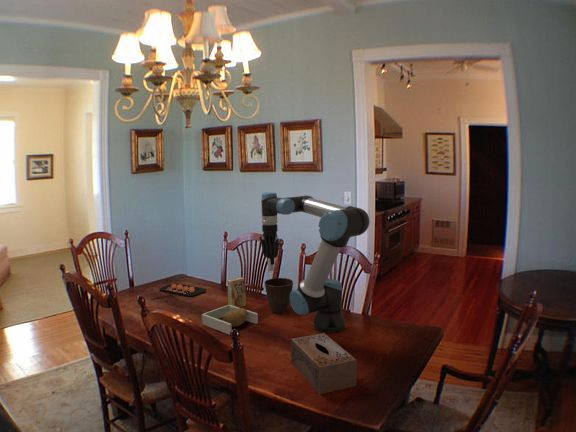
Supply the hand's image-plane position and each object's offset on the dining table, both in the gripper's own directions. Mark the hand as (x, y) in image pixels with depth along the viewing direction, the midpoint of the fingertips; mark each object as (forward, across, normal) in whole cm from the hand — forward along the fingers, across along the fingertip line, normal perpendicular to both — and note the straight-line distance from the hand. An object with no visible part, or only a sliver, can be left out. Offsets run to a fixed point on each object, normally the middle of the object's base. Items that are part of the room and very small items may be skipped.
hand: (270, 270), depth 220 cm
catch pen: (+24, -10, -19) cm, 33 cm away
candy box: (+25, -26, 0) cm, 36 cm away
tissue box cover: (+25, +54, -30) cm, 67 cm away
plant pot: (+25, -3, +9) cm, 26 cm away
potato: (+25, -6, -18) cm, 32 cm away
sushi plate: (+25, -72, -9) cm, 77 cm away
